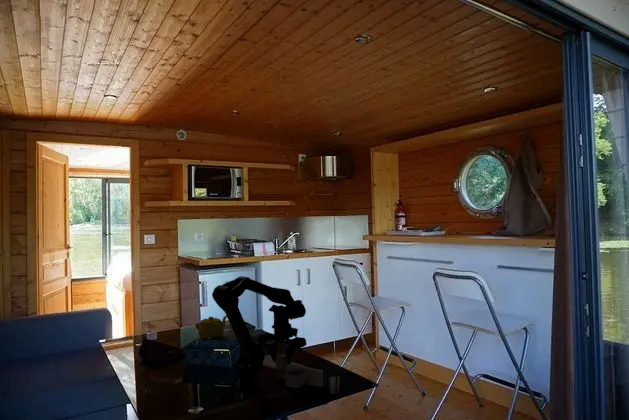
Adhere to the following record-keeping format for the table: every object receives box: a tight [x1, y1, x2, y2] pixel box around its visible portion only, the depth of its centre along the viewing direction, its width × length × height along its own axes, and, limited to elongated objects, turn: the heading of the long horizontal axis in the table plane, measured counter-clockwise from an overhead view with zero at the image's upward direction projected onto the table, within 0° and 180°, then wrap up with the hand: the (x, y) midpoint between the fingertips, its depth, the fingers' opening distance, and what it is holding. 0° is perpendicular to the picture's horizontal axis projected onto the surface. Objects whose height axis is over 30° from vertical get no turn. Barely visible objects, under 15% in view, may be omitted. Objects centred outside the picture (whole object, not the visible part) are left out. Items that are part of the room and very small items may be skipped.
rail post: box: [275, 353, 288, 380], centre depth 170 cm, size 3×3×8 cm
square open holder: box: [284, 369, 308, 389], centre depth 159 cm, size 8×6×4 cm
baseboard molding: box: [262, 354, 326, 374], centre depth 181 cm, size 31×3×12 cm
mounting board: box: [288, 364, 324, 388], centre depth 163 cm, size 2×14×6 cm, turn 60°
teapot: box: [194, 315, 227, 340], centre depth 228 cm, size 14×13×10 cm
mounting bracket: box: [138, 337, 185, 365], centre depth 194 cm, size 10×8×18 cm
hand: (282, 363), depth 170 cm, fingers open, 6 cm apart
